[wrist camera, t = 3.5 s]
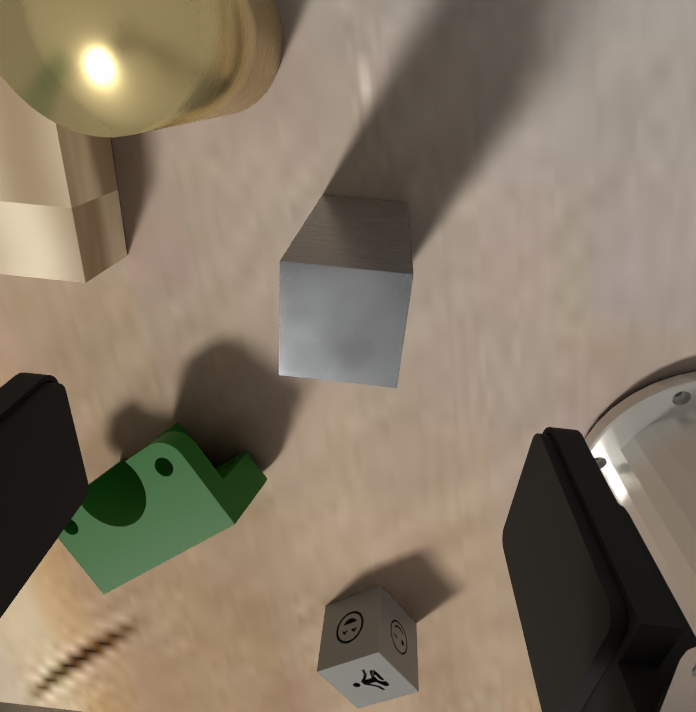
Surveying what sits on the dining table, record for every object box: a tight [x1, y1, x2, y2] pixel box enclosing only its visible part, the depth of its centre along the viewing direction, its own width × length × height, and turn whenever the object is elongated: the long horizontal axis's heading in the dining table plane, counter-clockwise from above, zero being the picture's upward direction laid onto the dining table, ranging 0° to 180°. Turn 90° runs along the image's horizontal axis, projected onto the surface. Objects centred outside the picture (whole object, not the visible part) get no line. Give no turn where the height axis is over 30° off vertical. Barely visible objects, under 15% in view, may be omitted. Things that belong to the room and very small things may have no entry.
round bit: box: [0, 0, 282, 137], centre depth 17 cm, size 6×6×10 cm
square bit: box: [279, 194, 413, 388], centre depth 20 cm, size 4×4×10 cm
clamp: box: [58, 423, 267, 594], centre depth 31 cm, size 12×6×9 cm, turn 121°
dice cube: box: [317, 586, 419, 708], centre depth 37 cm, size 5×5×5 cm
